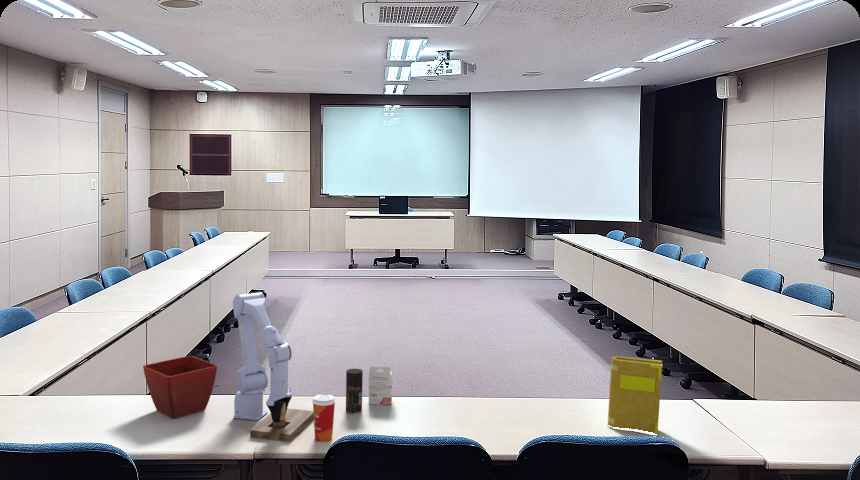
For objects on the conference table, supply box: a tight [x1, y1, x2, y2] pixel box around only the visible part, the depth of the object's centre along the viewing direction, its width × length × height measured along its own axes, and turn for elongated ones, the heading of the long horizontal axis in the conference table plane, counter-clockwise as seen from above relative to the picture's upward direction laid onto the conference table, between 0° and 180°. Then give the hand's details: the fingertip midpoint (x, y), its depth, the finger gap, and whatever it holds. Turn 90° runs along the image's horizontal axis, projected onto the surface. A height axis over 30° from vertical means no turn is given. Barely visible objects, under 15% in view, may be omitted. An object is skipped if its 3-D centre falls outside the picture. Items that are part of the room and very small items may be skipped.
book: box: [607, 355, 663, 434], centre depth 237 cm, size 17×7×25 cm, turn 71°
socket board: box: [249, 407, 314, 443], centre depth 230 cm, size 14×22×2 cm, turn 169°
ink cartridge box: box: [368, 365, 393, 406], centre depth 257 cm, size 9×5×15 cm, turn 87°
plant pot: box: [142, 355, 218, 419], centre depth 243 cm, size 19×19×17 cm
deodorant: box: [345, 368, 364, 414], centre depth 248 cm, size 6×6×15 cm
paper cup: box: [311, 394, 337, 443], centre depth 221 cm, size 8×8×14 cm
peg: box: [273, 401, 286, 429], centre depth 226 cm, size 4×4×8 cm
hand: (279, 419), depth 226 cm, fingers closed on peg, 4 cm apart
